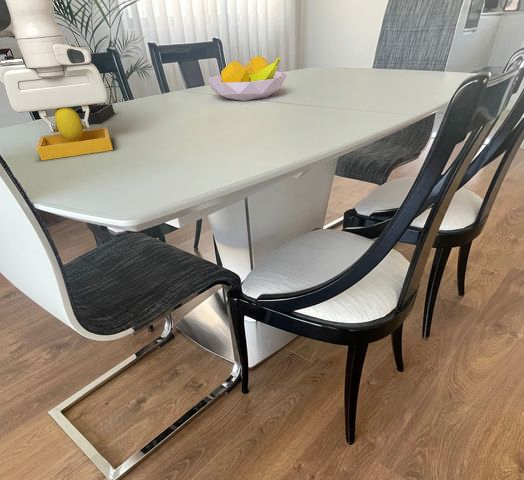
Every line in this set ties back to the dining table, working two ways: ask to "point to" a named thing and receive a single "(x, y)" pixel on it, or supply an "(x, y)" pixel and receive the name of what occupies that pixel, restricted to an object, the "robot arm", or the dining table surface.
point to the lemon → (68, 123)
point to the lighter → (90, 109)
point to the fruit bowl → (248, 80)
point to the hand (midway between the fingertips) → (71, 130)
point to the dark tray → (97, 113)
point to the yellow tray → (74, 144)
